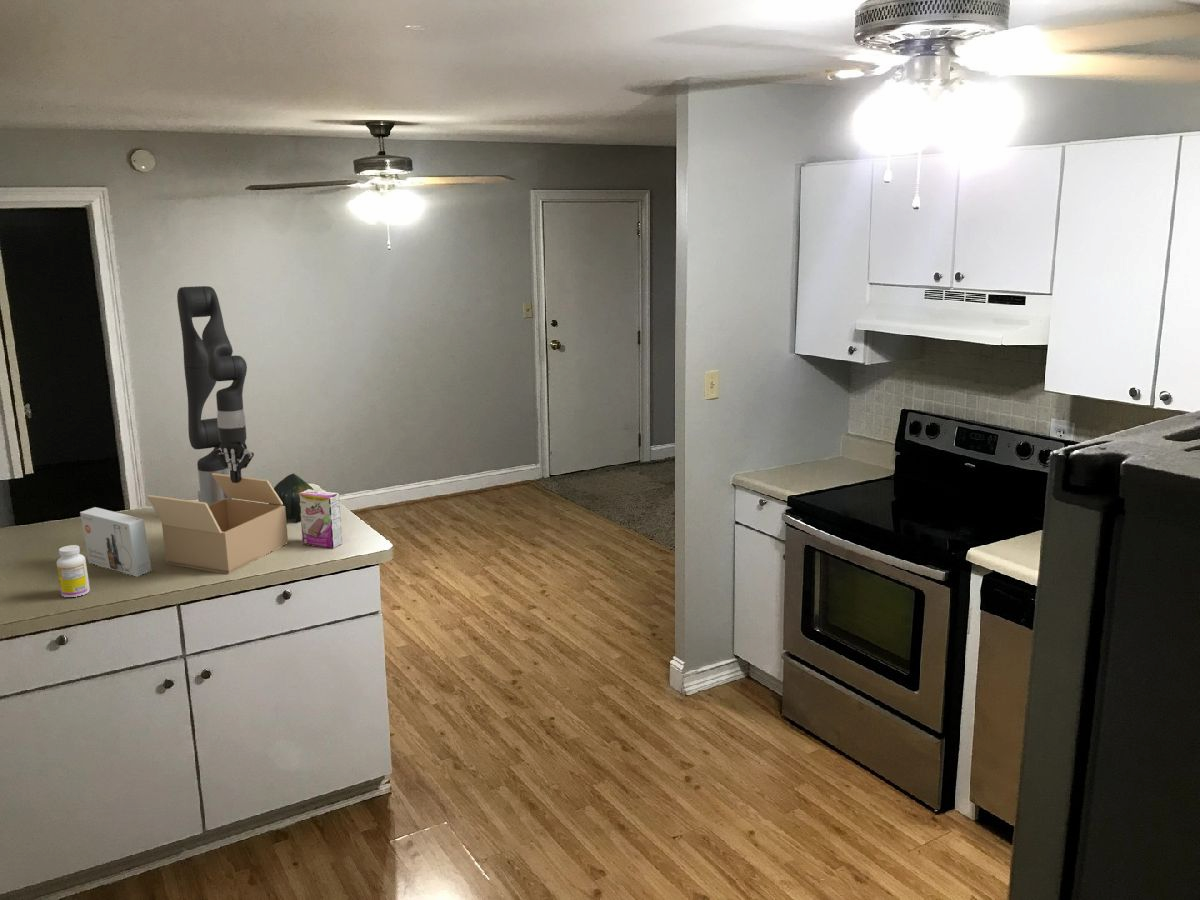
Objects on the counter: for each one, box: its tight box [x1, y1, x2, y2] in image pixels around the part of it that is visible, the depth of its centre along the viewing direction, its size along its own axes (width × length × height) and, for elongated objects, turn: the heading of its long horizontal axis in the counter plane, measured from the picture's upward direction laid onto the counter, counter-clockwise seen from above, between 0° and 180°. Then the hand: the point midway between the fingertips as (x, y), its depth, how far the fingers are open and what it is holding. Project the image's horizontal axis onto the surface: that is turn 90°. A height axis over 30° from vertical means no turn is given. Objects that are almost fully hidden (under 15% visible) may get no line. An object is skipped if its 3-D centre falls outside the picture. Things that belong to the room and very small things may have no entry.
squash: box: [268, 473, 315, 522], centre depth 308 cm, size 14×15×15 cm
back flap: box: [212, 473, 283, 505], centre depth 282 cm, size 20×11×1 cm
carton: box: [161, 498, 289, 575], centre depth 275 cm, size 22×26×12 cm
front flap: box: [146, 494, 222, 534], centre depth 259 cm, size 20×11×1 cm
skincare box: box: [79, 506, 153, 577], centre depth 264 cm, size 21×6×16 cm, turn 62°
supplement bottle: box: [56, 544, 91, 598], centre depth 246 cm, size 7×7×13 cm
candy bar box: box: [299, 489, 343, 550], centre depth 282 cm, size 11×5×16 cm, turn 71°
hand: (236, 482), depth 277 cm, fingers closed
